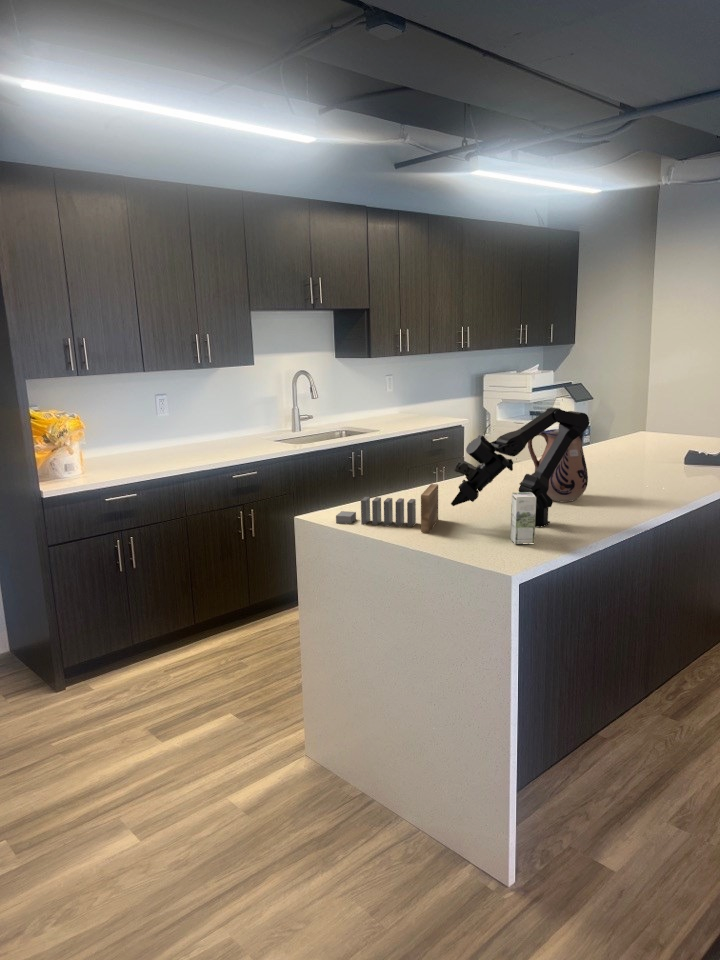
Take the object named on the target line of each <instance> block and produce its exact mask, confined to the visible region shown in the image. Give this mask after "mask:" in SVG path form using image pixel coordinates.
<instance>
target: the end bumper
mask: <svg viewBox="0 0 720 960" xmlns="http://www.w3.org/2000/svg"><path fill="white" fill-rule="evenodd" d="M354 520H355V521H356V520H357V511H345V510H342V511H340V512H339V513H337V514H336V515H335V524H343V523H349V524H348V525H351V524H353V523H354V522H353V521H354Z"/></svg>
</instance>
